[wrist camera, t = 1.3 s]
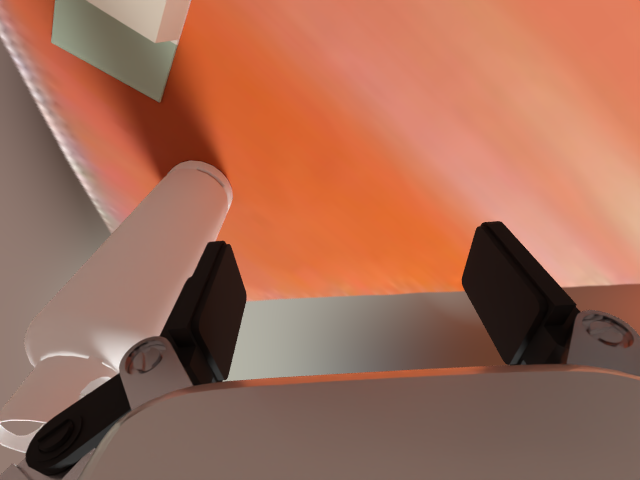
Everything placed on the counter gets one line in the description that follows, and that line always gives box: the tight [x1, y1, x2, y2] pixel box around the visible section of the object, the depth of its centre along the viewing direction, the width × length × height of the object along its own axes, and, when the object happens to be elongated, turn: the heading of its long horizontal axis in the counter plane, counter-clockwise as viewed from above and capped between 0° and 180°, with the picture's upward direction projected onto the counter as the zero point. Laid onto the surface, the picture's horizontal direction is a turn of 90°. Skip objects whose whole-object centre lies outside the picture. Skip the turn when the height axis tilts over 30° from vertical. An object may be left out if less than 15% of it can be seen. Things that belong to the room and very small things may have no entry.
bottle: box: [0, 160, 233, 453], centre depth 27 cm, size 8×8×28 cm
